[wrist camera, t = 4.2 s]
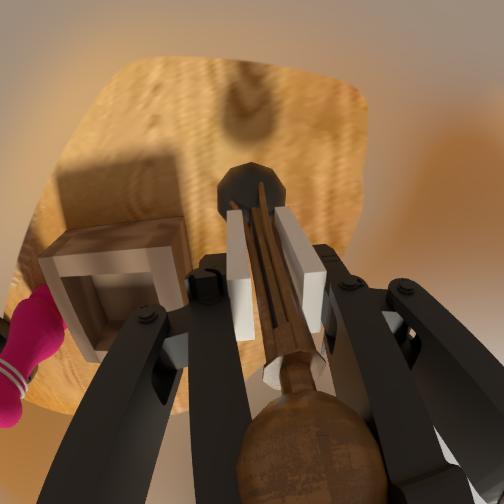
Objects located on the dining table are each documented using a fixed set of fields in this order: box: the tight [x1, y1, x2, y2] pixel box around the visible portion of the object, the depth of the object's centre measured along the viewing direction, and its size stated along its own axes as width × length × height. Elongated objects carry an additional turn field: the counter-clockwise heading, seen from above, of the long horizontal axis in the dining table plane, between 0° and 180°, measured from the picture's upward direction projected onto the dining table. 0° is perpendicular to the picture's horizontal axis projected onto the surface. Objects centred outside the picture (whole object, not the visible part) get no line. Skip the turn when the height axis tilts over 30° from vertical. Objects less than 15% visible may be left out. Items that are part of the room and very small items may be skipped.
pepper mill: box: [0, 285, 67, 428], centre depth 21 cm, size 7×7×20 cm
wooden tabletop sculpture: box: [217, 162, 388, 504], centre depth 11 cm, size 6×5×20 cm
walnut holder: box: [37, 216, 193, 363], centre depth 26 cm, size 13×13×6 cm
